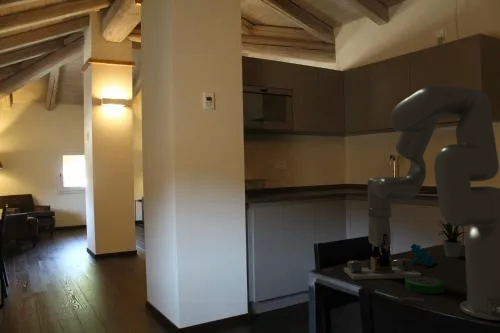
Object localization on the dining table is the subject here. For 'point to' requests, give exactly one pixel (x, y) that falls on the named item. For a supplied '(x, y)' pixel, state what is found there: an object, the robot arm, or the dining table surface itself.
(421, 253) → the dark teal lobed piece
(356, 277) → the mounting base plate
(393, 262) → the shaft right
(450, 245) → the house plant
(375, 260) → the tan box with knob
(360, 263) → the shaft left
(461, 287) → the dining table surface
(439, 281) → the tape roll
